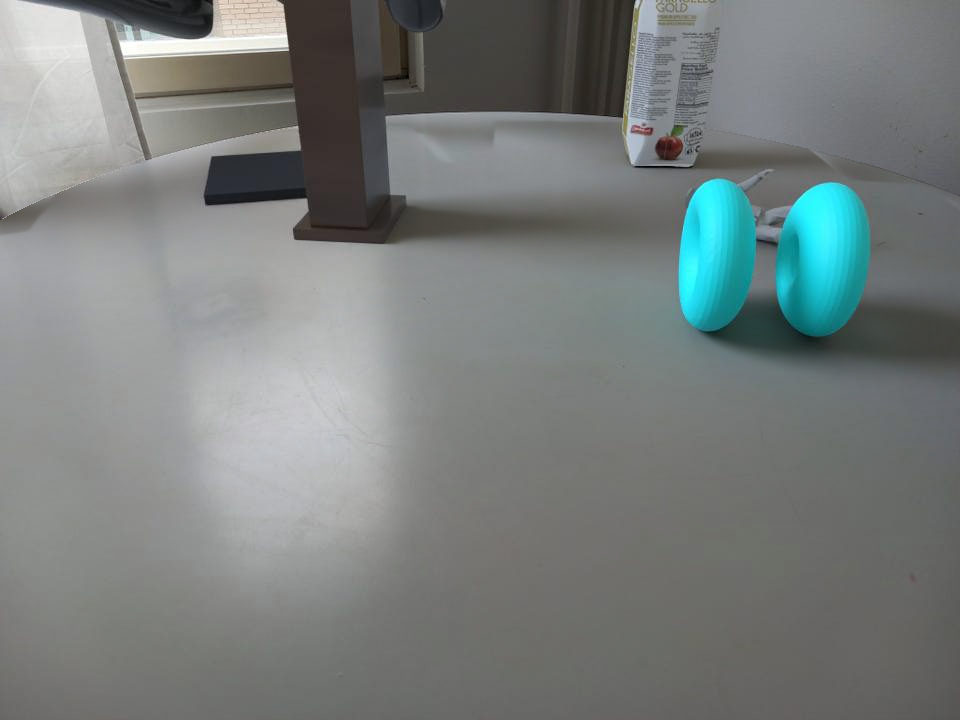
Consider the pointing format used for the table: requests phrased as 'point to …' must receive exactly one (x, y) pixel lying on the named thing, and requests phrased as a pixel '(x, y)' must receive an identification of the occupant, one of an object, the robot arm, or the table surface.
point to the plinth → (341, 120)
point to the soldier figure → (758, 210)
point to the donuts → (799, 260)
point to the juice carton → (669, 79)
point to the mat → (255, 177)
